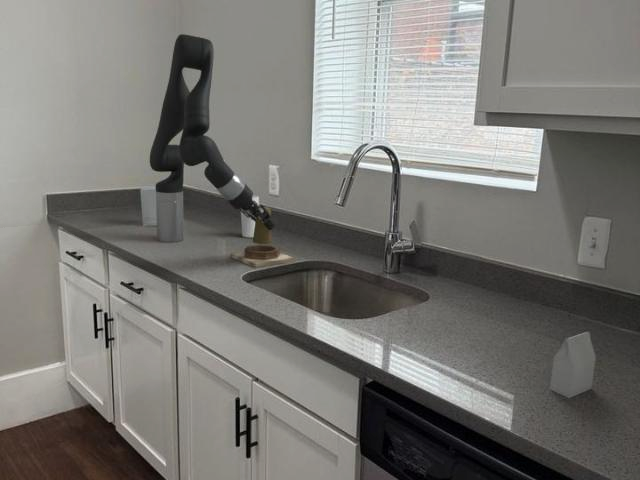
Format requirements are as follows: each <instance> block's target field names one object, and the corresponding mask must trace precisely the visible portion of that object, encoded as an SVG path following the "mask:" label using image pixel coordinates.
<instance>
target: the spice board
mask: <svg viewBox="0 0 640 480" xmlns="http://www.w3.org/2000/svg"><path fill="white" fill-rule="evenodd" d="M230 257H231V258H232V259H234V260H237V261H240V262H241V263H244V264H246V265H248V266H251V267H253V268H255V269H256V268H263V267H270V266H276V265H282V264H288V263H294V262H295V257H292V256H290V255H287V254H285V253H282V252H281V248H280V247H278V246H276V245H272V244H254V245H252V244H251V245H248V246H246V247H245V248H244V251H239V252H231V253H230Z"/></svg>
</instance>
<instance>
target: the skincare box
mask: <svg viewBox="0 0 640 480" xmlns="http://www.w3.org/2000/svg"><path fill="white" fill-rule="evenodd" d="M139 191H140V204H141V218H142V221H141V222H142V226H143V227H155V226H156V227H157V220H156V186H154V187H153V186H151V187H149V186H148V187H141V188H140V190H139Z"/></svg>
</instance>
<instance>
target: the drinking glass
mask: <svg viewBox="0 0 640 480" xmlns="http://www.w3.org/2000/svg"><path fill="white" fill-rule="evenodd" d="M252 201H255V202H256V203H258V205H259V206H260V197H259V196H258V195H254V194H253V197H252ZM240 219H241V234H242V237H243V238H252V239H253V236H254V229H255V221H254V220H251V218H250V217H249V218H247V216H245V215H244V214H243V213H242V212H241V211H240Z"/></svg>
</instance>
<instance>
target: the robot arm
mask: <svg viewBox="0 0 640 480" xmlns="http://www.w3.org/2000/svg"><path fill="white" fill-rule="evenodd" d="M172 52H173V53H172V56H171V57H172V58H171V59H172V60H171V65H170V66H171V67H170V73H169V78H168V81H167V87H166V90H165V94H164V98H163V101H162V106H161V111H160V117H159V123H158V127H157V130H156V134H155V137H154V139H153V142H152V145H151V149H150V153H149V165H150V168H151V170H152V171H155V172H159V173H166V172H169V173H170V174H169V176H167V177H166V178H164V179H162V180H160V181H158V182H156V183H155V187H156V220H157V226H156V240H157V241H158V242H162V243H163V242H165V243H175V242H181V241H183V240H184V237H185V235H184V229H185V228H184V227H185V224H184V181H185V180H184V179H185V177H184V174H185V173H184V172H185V171H184V170H185V165H186V166H188V167H195V166H198V165H200V164H203V163H205V162H206V163H207V166H206V167H205V169H204V176H205V178H206V179H207V181H209V182H210V183H211V184H212V186H213V187H214V188H215V189H216V190H217V191H218V193H219V194H220V195H221V196H222V197H223V199H224V200H225V201H226V202H228V204H229V205H230V206H231V207H232V208H233V209H234V210H239V211H240V213H241V212H242V213H243V214H244V215H245V216H247V218H249V217H250V218H251V220H254V221H255V222H256V219H259V220H260V221H261V222H262V223H263V224H264V225H265V226H266V227H267V228H268V229H269V230H271V231H273V229H274V227H276V225H275V223H274V222H273V221H272V220H271V217H272V215H271V216H270V215H269V213H268V212H267V211H266V209H265V208H264V207H265V206H264V205H262V204H259V205H258V203H256V202H255V201H252V197H253V195H254V192H253V191H252V189H251V188H250V187H249V186H248V185H247V184H246V183H245V181H244V180H242V178H241V177H240V176H239V175H237V173H236V172H235V171H233V169H232V168H231V167H230V166H229V165H228V164H227V163H226V162H225V160H224V158H223V155H222V154H221V151H220V149H219V147H218V146H217V143H216V142H215V140H214V139H212V138H211V137H210V136H207V135H206V133H208V131H209V130H210V121H211V119H210V96H211V95H210V93H211V87H212V77H213V67H214V58H215V57H214V53H215V51H214V45H213V43H212V41H211V40H210V39H209V38H205V37H200V36H195V35H190V34H182V33H181V34H178V36H177V37H176V39H175V42H174V46H173V51H172ZM184 68H186V69H190V70H197V71H200V76H199V78H198V81H197V83H196V84H195V86H194V87H193V88H192V90H189V87H188V85H187V83H186V81H185V77H184V74H183V70H184ZM180 133H181V136H180V140H179V144H170V142H172V140H173V139H174V138H175V137H176V136H178V135H179V134H180ZM256 214H258V215H257V216H256Z"/></svg>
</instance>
